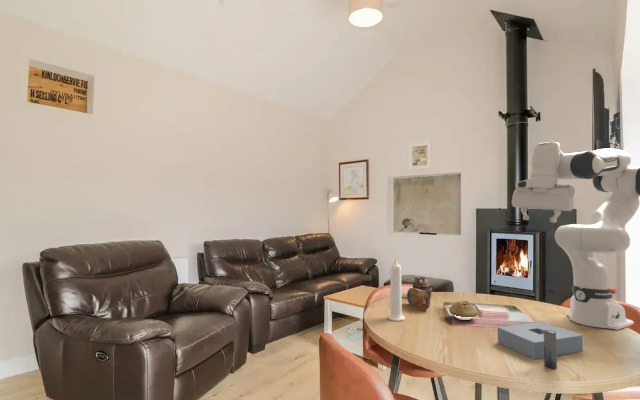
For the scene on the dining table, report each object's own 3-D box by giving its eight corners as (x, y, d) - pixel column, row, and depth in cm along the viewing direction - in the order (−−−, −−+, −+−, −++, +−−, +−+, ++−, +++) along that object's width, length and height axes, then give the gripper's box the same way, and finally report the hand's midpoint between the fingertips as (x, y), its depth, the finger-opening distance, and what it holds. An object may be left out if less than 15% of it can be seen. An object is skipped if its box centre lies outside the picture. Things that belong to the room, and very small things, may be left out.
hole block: (542, 335, 123) (542, 321, 123) (582, 351, 109) (582, 335, 109) (497, 342, 117) (497, 327, 117) (534, 359, 103) (534, 342, 103)
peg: (549, 363, 100) (548, 329, 101) (559, 368, 97) (558, 332, 98) (541, 365, 99) (541, 330, 100) (551, 369, 97) (550, 333, 97)
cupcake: (423, 300, 170) (423, 280, 170) (408, 296, 178) (408, 277, 178) (436, 297, 175) (436, 278, 175) (421, 294, 183) (421, 275, 184)
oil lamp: (477, 314, 147) (477, 296, 147) (478, 325, 134) (477, 304, 134) (450, 311, 152) (450, 293, 152) (448, 321, 138) (447, 301, 138)
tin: (406, 303, 165) (406, 286, 165) (412, 303, 166) (412, 285, 166) (425, 312, 150) (425, 293, 150) (431, 312, 151) (431, 292, 151)
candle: (392, 314, 147) (392, 256, 148) (407, 318, 142) (407, 257, 143) (384, 318, 141) (384, 258, 142) (400, 322, 137) (399, 259, 138)
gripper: (579, 186, 121) (574, 224, 121) (519, 185, 139) (516, 219, 138) (571, 183, 118) (566, 223, 118) (511, 183, 135) (507, 218, 135)
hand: (538, 221), depth 128 cm, fingers open, 8 cm apart
